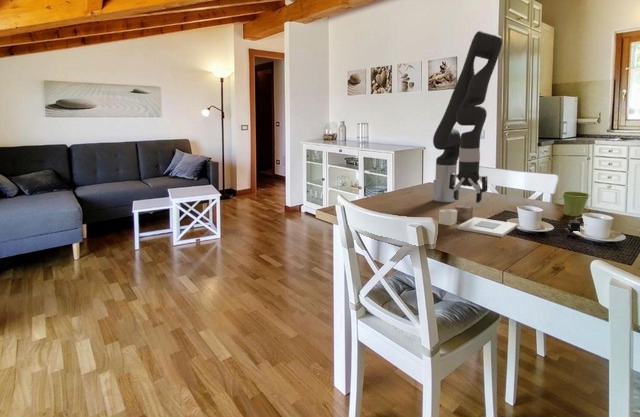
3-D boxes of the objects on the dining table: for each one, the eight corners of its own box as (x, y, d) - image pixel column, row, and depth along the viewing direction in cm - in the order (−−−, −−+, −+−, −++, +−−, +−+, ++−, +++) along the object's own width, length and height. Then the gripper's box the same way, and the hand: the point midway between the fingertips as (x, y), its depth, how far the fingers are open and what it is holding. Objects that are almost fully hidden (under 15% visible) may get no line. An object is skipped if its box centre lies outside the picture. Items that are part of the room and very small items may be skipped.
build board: (457, 228, 153) (457, 225, 153) (474, 219, 164) (474, 216, 164) (502, 237, 142) (502, 233, 142) (517, 226, 154) (517, 223, 154)
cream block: (438, 223, 160) (439, 211, 159) (444, 220, 164) (444, 208, 163) (450, 226, 157) (451, 213, 156) (456, 223, 161) (457, 210, 159)
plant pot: (591, 218, 163) (594, 196, 161) (564, 217, 164) (567, 196, 162) (581, 212, 172) (583, 191, 169) (556, 211, 173) (558, 191, 171)
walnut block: (454, 219, 166) (455, 206, 165) (460, 216, 170) (460, 204, 169) (467, 221, 163) (467, 208, 162) (472, 218, 167) (473, 206, 165)
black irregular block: (559, 228, 153) (560, 216, 151) (582, 230, 150) (584, 217, 149) (564, 238, 141) (565, 225, 140) (589, 240, 139) (591, 227, 138)
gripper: (447, 160, 162) (445, 200, 166) (484, 161, 153) (482, 205, 157) (455, 158, 168) (453, 197, 172) (491, 159, 159) (489, 201, 163)
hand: (467, 201), depth 164 cm, fingers open, 8 cm apart
